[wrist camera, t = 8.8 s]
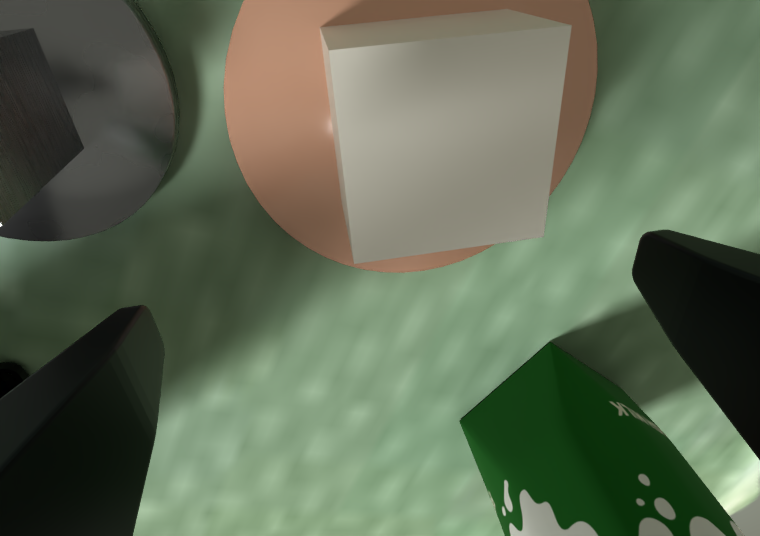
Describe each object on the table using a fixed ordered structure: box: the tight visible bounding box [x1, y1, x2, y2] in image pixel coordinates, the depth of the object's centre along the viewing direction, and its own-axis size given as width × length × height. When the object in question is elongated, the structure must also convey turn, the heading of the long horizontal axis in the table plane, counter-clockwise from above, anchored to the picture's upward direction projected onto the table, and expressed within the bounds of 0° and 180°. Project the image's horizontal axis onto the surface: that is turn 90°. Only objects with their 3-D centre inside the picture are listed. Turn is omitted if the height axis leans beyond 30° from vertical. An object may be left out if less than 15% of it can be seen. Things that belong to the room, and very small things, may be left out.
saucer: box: [224, 0, 598, 272], centre depth 17 cm, size 13×13×1 cm
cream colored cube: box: [320, 9, 572, 264], centre depth 15 cm, size 6×6×4 cm
